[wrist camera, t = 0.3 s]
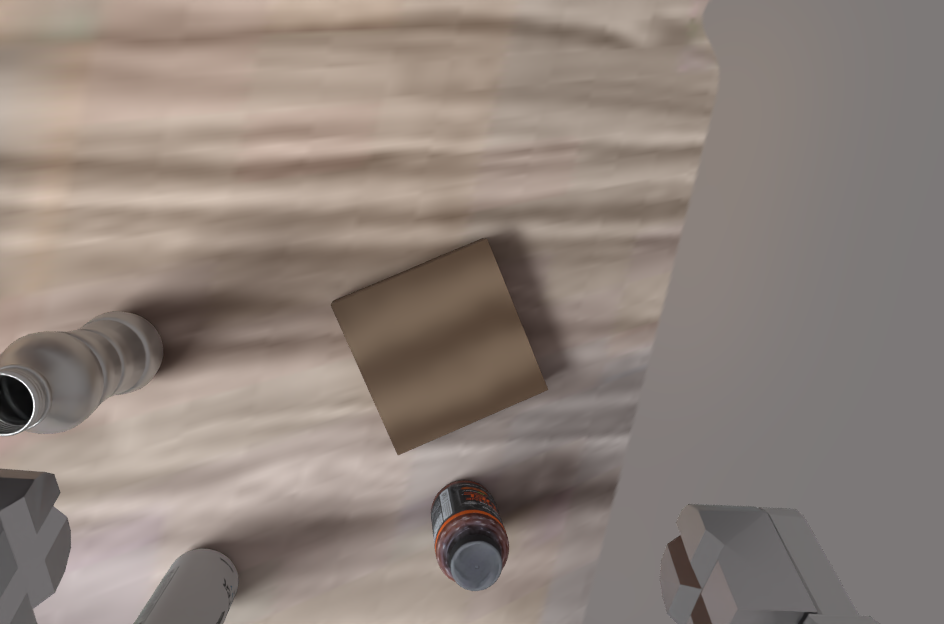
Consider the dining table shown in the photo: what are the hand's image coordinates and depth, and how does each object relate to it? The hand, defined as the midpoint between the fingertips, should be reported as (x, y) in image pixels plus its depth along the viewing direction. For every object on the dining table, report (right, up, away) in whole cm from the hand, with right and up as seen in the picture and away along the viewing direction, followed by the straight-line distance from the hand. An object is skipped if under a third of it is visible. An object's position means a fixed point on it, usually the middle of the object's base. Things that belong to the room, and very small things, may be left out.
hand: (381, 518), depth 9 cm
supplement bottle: (0, -15, +55) cm, 57 cm away
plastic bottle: (-28, 0, +50) cm, 57 cm away
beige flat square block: (-2, 0, +53) cm, 53 cm away
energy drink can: (-22, -21, +53) cm, 61 cm away
